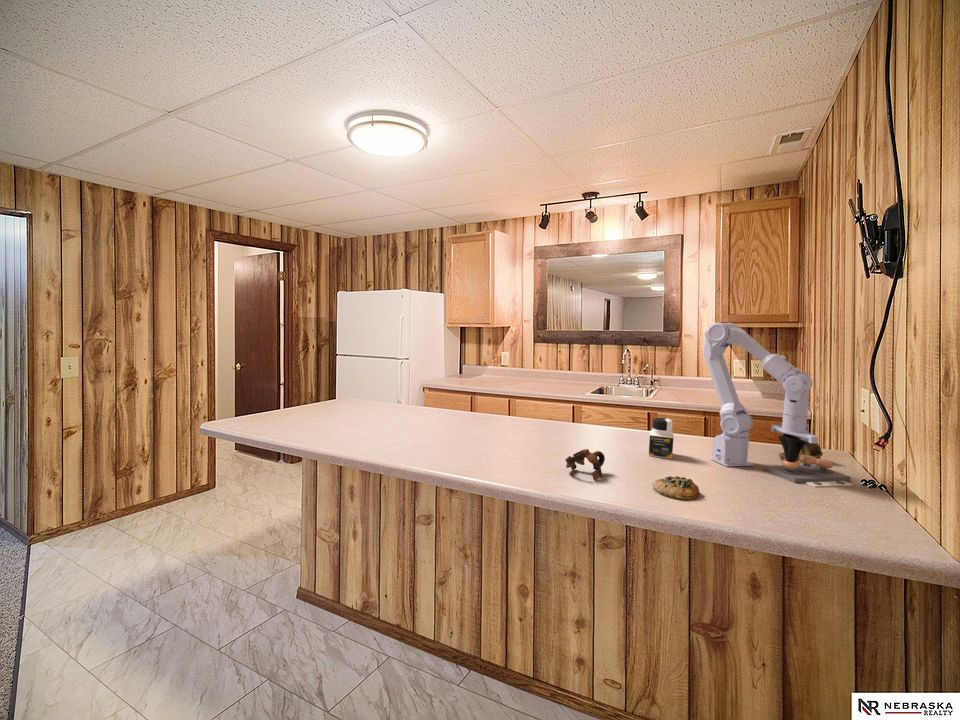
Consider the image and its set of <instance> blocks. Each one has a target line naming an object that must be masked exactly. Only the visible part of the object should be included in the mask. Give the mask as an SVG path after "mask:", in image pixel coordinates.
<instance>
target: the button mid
mask: <svg viewBox="0 0 960 720" xmlns="http://www.w3.org/2000/svg"><path fill="white" fill-rule="evenodd" d="M798 462H799V463H802V465H804V466H808V467H810V466H811V465H815V464H816V457H813V456H809V455H800V457H799V461H798Z"/></svg>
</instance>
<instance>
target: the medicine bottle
mask: <svg viewBox="0 0 960 720" xmlns="http://www.w3.org/2000/svg"><path fill="white" fill-rule="evenodd" d="M673 423H674V422H673V420H672V419H670V418H666V417H655V418H653V419H652V426H651V427H652V429H651V430H650V432H649V441H648V457H654V458H655V457H656V458H662V459H663V458H664V459H669V460H670V459H671V460H672V459H673V453H674V452H673V450H674V436H675V434H674V432H673Z"/></svg>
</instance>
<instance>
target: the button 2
mask: <svg viewBox="0 0 960 720" xmlns="http://www.w3.org/2000/svg"><path fill="white" fill-rule="evenodd" d="M814 465H816V466H819V467H820V468H819V469H821V470H827V468H828V469H832V468H833V461H832V460H831V459H825V458H821V459H816V464H814Z"/></svg>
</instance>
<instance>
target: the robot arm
mask: <svg viewBox="0 0 960 720" xmlns="http://www.w3.org/2000/svg"><path fill="white" fill-rule="evenodd" d="M704 338H705V340H704V346H703V351H702V352H703V357H704V361H705V363H706V365H707V368H708V372H709V375H710V377H711V380H712V383H713V387H714V388H715V392H716V395H717V399H718V400H719V403H720V407H721V408H720V411H719V416H720V423H719V424H720V428H721V430H722V433H721V434H718V435H715V437H713V440H712V454H711V457H710V460H711V461H714V462H715V463H719V464H720V465H723V466H724V467H751V466H752V467H754V465H755V463H752V462H750V461H748V455H749V441H750V433H749V431H750V430H751V429H752V428H753V425H754V420H753V417H752V416H751V414H749V413H748V412H747V410H746V407H745V405H743V404H742V403H741V402H740V400H739V396H738V393H737V391H736V387H735V386H734V382H733V380H732V377H731V374H730V372H729V371H730V370H729V368H728V365H727V363H726V360H725V358H724V357H725V356H724V353H725V351H726V350H727V349H728V347H729V346H731V345H736V346H737V345H738V346H740V347H741V348H743V350H745V351H747V353H749V354H751V355H752V356H753V357H754V358H756V359H757V360H759V361H760V362H761V366H762V369H763V370H764V371H765V372H767V373H768V374H769V375H770V376H771V377H772V378H774V379H775V380H776V381H777V382H778V383H780V384H782V388H783V390H784V391H785V393H784V400H783V401H784V402H783V413H782V422H781V423H782V424H781V425H780V424H777V423H776V424H771V425H770V431H771V432H773V433H775V432H777V433H779V434H782V435H779V436H778V439H779V441H780V443H781V446H782V449H783V453H785V458H786V461H788V462H796V460H797V457H798V455H799V453H800V451H801V449H802V448H803V447H804V445H805V444H806V443H807V442H809V443H818V444H819V436H818V435H816V434H813V433H810V432H809V430H807V422H808V421H807V420H808V411H809V395H810V394H809V393H810V392H809V391H810V390H811V389H812V387H813V379H812V378H811V377H810V375H809V374H808V373H807V372H803V371H801V369H800V367H795V366H794V365H793V364H791V363H790V362H788V360H787V357H786V356H785V355H784V354H782V355H781V354H778V353H770V352H769V351H768V350H767V349H766V348H764V347H763V346H762V345H761V344H760V343H759V342H758V341H756V339H754V338H753V337H752V336H751V335H750V334H749V333H748V332H747V331H745V330H744V329H743V328H741V327H739V326H738V325H737V324H736V323H733V322H713V323H712V324H710V325H709V326H708V328H707V330H706V331H705V332H704Z"/></svg>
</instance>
